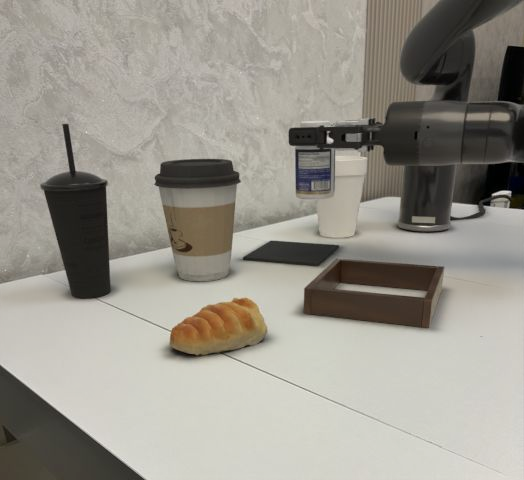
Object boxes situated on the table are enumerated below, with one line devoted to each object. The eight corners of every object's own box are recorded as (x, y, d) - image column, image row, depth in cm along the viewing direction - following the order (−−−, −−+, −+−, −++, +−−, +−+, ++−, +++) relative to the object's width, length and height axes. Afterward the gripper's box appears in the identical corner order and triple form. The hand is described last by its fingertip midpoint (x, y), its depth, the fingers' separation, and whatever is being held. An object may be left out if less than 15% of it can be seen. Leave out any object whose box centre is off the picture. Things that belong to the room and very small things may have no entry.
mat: (271, 242, 94) (270, 240, 94) (339, 247, 90) (339, 245, 90) (242, 259, 84) (242, 257, 84) (318, 266, 80) (318, 263, 79)
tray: (335, 280, 73) (336, 258, 72) (441, 289, 68) (444, 266, 67) (303, 313, 61) (304, 288, 60) (429, 328, 57) (432, 300, 55)
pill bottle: (305, 193, 80) (306, 120, 76) (340, 195, 77) (342, 120, 73) (288, 198, 75) (287, 122, 71) (324, 200, 73) (325, 121, 69)
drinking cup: (102, 280, 75) (80, 122, 67) (133, 291, 70) (112, 122, 62) (49, 293, 70) (18, 125, 62) (77, 306, 65) (47, 125, 57)
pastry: (193, 367, 49) (189, 327, 48) (156, 345, 54) (152, 308, 53) (273, 340, 55) (272, 303, 53) (233, 322, 59) (232, 288, 58)
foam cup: (316, 227, 104) (318, 155, 99) (365, 229, 102) (369, 155, 97) (306, 238, 96) (307, 160, 91) (359, 240, 94) (363, 160, 89)
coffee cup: (146, 275, 77) (134, 163, 71) (207, 259, 84) (200, 156, 78) (200, 291, 69) (191, 167, 63) (261, 272, 77) (258, 160, 71)
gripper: (435, 100, 72) (312, 104, 78) (421, 100, 60) (277, 105, 66) (429, 160, 75) (312, 160, 81) (415, 171, 63) (278, 170, 69)
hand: (297, 135), depth 74 cm, fingers closed on pill bottle, 5 cm apart
